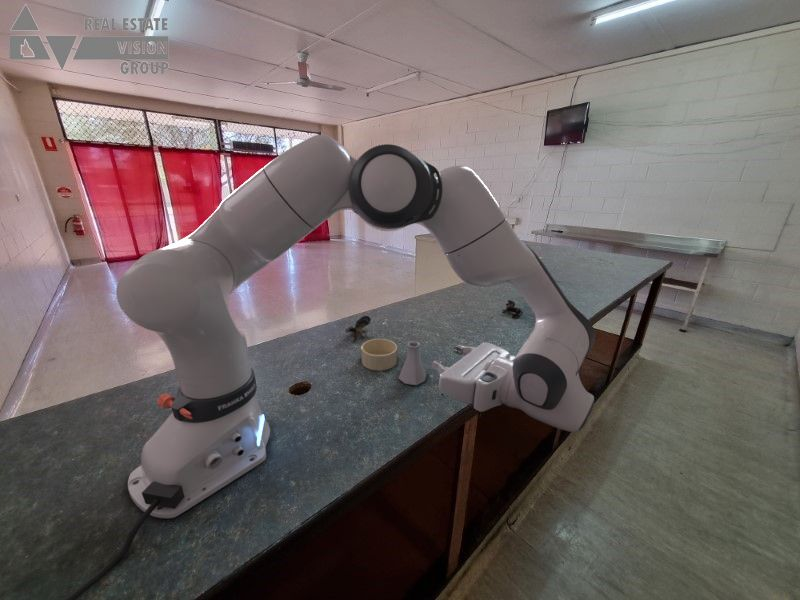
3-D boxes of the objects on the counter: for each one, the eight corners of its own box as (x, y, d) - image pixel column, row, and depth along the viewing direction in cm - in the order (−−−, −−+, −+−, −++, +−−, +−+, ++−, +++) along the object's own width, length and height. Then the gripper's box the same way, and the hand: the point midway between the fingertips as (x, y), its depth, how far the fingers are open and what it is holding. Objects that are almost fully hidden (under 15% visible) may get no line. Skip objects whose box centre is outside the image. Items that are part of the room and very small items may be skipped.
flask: (430, 375, 84) (433, 342, 80) (417, 389, 78) (419, 354, 75) (407, 367, 87) (408, 334, 84) (393, 379, 82) (393, 345, 78)
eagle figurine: (371, 340, 99) (376, 323, 107) (358, 323, 96) (363, 308, 104) (352, 349, 102) (358, 332, 110) (339, 333, 99) (345, 317, 107)
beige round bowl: (384, 374, 84) (384, 359, 82) (354, 363, 88) (354, 349, 87) (403, 357, 92) (403, 344, 90) (374, 348, 97) (374, 335, 95)
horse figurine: (507, 330, 118) (527, 312, 126) (509, 321, 115) (529, 304, 124) (487, 320, 123) (507, 304, 131) (488, 311, 121) (509, 296, 129)
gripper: (523, 347, 71) (469, 329, 80) (480, 388, 57) (419, 360, 65) (518, 371, 73) (466, 351, 82) (476, 416, 59) (418, 386, 67)
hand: (445, 355), depth 73 cm, fingers open, 8 cm apart
